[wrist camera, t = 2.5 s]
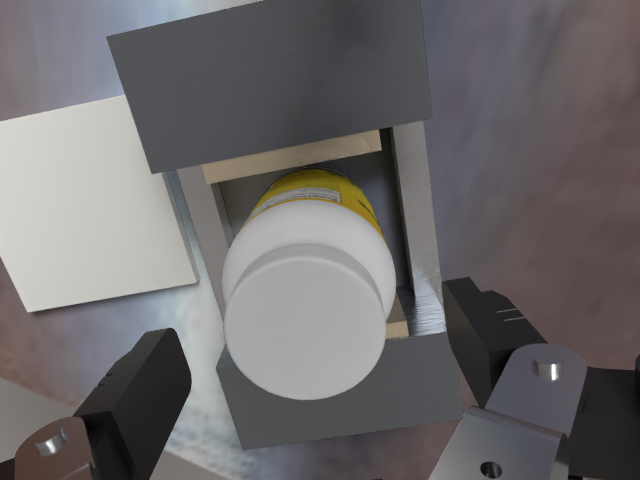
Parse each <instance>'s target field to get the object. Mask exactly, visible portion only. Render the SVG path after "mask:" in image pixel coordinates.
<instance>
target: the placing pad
mask: <svg viewBox="0 0 640 480" xmlns="http://www.w3.org/2000/svg"><path fill="white" fill-rule="evenodd" d="M0 256H1V258H2V261H3V263H4V265H5V267H6V269H7V271H8V273H9V275H10V277H11V279H12V281H13V283H14V285H15V287H16V290H17V292H18V294H19V296H20V298H21V300H22V302H23V304H24V306H25V308H26V310H27V312H33V311H39V310H45V309H50V308H56V307H62V306H67V305H73V304H79V303H84V302H90V301H96V300H102V299H107V298H113V297H119V296H124V295H130V294H136V293H141V292H147V291H153V290H158V289H164V288H170V287H176V286H181V285H187V284H193V283H197V282H198V280H199V279H200V277H199V274H198V271H197V267H196V264H195V261H194V258H193V255H192V252H191V249H190V246H189V242H188V239H187V236H186V233H185V230H184V227H183V224H182V220H181V217H180V214H179V211H178V208H177V205H176V202H175V199H174V195H173V192H172V189H171V186H170V183H169V180H168V177H167V173H166V172H162V173H157V174H151V171H150V168H149V165H148V162H147V159H146V156H145V153H144V150H143V147H142V144H141V141H140V138H139V135H138V132H137V128H136V125H135V122H134V119H133V116H132V113H131V110H130V107H129V104H128V101H127V98H126V95H121V96H116V97H112V98H107V99H102V100H98V101H93V102H88V103H84V104H79V105H75V106H70V107H65V108H61V109H56V110H51V111H47V112H42V113H38V114H33V115H28V116H24V117H19V118H15V119H10V120H5V121H1V122H0Z"/></svg>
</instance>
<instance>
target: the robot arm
mask: <svg viewBox="0 0 640 480" xmlns="http://www.w3.org/2000/svg"><path fill="white" fill-rule="evenodd" d="M442 296H443V304H444V313H445V321H446V329H447V335H448V340H449V343H450V347H451V349H452V352H453V354H454V356H455V358H456V360H457V362H458V364H459V366H460V368H461V370H462V372H463V374H464V376H465V378H466V380H467V382H468V384H469V386H470V388H471V391H472V393H473V395H474V397H475V399H476V401H477V403H478V405H479V407H477V406H474V405H472V406H470V407H469V408H468V409H467V411H466V413H465V414H464V416H463V418H462V420H461V422H460V423H459V425H458V427H457V429H456V431H455V432H454V434H453V436H452V438H451V440H450V442H449V443H448V445H447V447H446V449H445V451H444V452H443V454H442V456H441V458H440V460H439V462H438V463H437V465H436V467H435V469H434V471H433V473H432V474H431V476H430V478H429V480H586V479H587V478H593V479H600V480H640V355H639V356H638V357H637V359H636V364H635V370H619V369H602V368H593V367H588V366H587V365H586V363H585V361H584V360H583V358H582V357H581V356H579V355H578V354H577V353H575V352H573V351H572V350H569V349H567V348H565V347H562V346H558V345H553V344H548V343H547V342H546V340H545V339H544V338H543V337H542V336H541V335H540V334H539V333H538V331H537V330H536V329H535V328H534V327H533V326H532V325H531V324H530V323H529V321H528V320H527V319H526V318H524V316H523V315H522V314H521V313H520V311H519V310H517V309H516V307H515V306H514V305H513V304H512V302H511V301H510V300H509V299H508V298H507V297H505V296H503V295H501V294H498V293H496V292H494V291H492V290H491V291H485V292H481V291H480V290H479V289H478V288H477V286H476V285H475V284H474V282H473V281H472V280H471V279H470V278H469V277H465V278H459V279H453V280H448V281H443V282H442ZM191 383H192V380H191V372H190V369H189V366H188V363H187V360H186V358H185V355H184V352H183V349H182V346H181V344H180V341H179V338H178V335H177V333H176V331H175V330H174V329H173V328H166V329H160V330H154V331H149V332H146V333H144V334H143V336H142V337H141V338H140V340H139V341H138V342H137V343H136V345H135V346H134V347H133V349H132V350H131V351H130V352H128V353H127V354H126V355H124V356H123V357H122V358H121V359H119V360H118V361H117V362H115V364H114V365H113V366H112V367H111V369H110V370H109V371H108V372H107V374H106V377H103V379H102V380H101V381H100V382H99V384H98V387H95V389H94V390H93V391H92V392H91V394H90V395H89V396H88V397H87V399H86V400H85V401H84V402H83V404H82V405H81V406H80V407H79V409H78V410H77V411H76V412H75V414H74V415H73V416H72V417H67V418H63V419H59V420H57V421H54V422H52V423H50V424H48V425H46V426H44V427H43V428H41V429H39V430H38V431H36V432H35V433H34V434H32V435H31V436H30V437H29V438H28V439H26V440H25V441H24V443H23V444H22V445H21V446H20V447H19V449H18V450H17V452H16V454H15V458H13V459H10V460H7V461H4V462H2V463H0V480H149V479H150V476H151V474H152V472H153V470H154V468H155V466H156V464H157V461H158V459H159V457H160V455H161V453H162V451H163V449H164V447H165V444H166V442H167V440H168V438H169V436H170V434H171V432H172V429H173V427H174V425H175V423H176V421H177V419H178V417H179V414H180V412H181V410H182V408H183V406H184V404H185V402H186V400H187V397H188V395H189V393H190V390H191ZM375 480H382V479H375Z"/></svg>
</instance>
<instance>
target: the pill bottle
mask: <svg viewBox="0 0 640 480" xmlns="http://www.w3.org/2000/svg"><path fill="white" fill-rule="evenodd" d="M222 291H223V297H224V302H225V305H226V310H225V315H224V324H223V327H224V336H225V342H226V345H227V348H228V351H229V353H230V355H231V357H232V359H233V361H234V362H235V364H236V365H237V367H238V368H239V369H240V371H241V372H242V373H243V374H244V375H245V376H246V377H247V378H248V379H250V380H251V381H252V382H253V383H255V384H256V385H257V386H259V387H261V388H263V389H264V390H266V391H268V392H270V393H273V394H276V395H279V396H282V397H285V398H290V399H297V400H316V399H323V398H328V397H331V396H335V395H337V394H340V393H342V392H345V391H347V390H348V389H350V388H352V387H354V386H355V385H356V384H358V383H359V382H360V381H362V380H363V379H364V378H365V377H366V376H367V375H368V374H369V373H370V372H371V370H372V369H373V368H374V366H375V365H376V363H377V361H378V359H379V358H380V356H381V353H382V351H383V347H384V344H385V338H386V320H387V319H388V316H389V314H390V312H391V309H392V306H393V302H394V298H395V292H396V274H395V268H394V263H393V259H392V256H391V253H390V251H389V248H388V246H387V244H386V241H385V239H384V236H383V234H382V231H381V229H380V226H379V223H378V221H377V218H376V216H375V214H374V211H373V209H372V206H371V204H370V202H369V200H368V198H367V196H366V195H365V193H364V192H363V191H362V189H361V188H360V187H359V186H358V185H357V184H356V183H355V182H354V181H353V180H352V179H350V178H349V177H347V176H346V175H344V174H342V173H340V172H338V171H335V170H332V169H328V168H323V167H305V168H300V169H296V170H293V171H291V172H289V173H287V174H285V175H283V176H281V177H280V178H279V179H277V180H276V181H275V182H274V183H273V184H272V185H271V186H270V187H269V188H268V189H267V190H266V192H265V193H264V194H263V196H262V197H261V199H260V200H259V202H258V203H257V205H256V206H255V208H254V209H253V210H252V212H251V213H250V215H249V217H248V218H247V220H246V222H245V223H244V225H243V226H242V228H241V229H240V231H239V232H238V234H237V235H236V237H235V239H234V240H233V242H232V244H231V246H230V248H229V251H228V253H227V256H226V259H225V262H224V267H223V274H222Z"/></svg>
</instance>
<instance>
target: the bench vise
mask: <svg viewBox="0 0 640 480" xmlns="http://www.w3.org/2000/svg"><path fill="white" fill-rule="evenodd" d="M106 38H107V41H108V44H109V47H110V50H111V53H112V56H113V59H114V62H115V65H116V68H117V71H118V74H119V77H120V80H121V83H122V86H123V89H124V92H125V95H126V98H127V101H128V104H129V107H130V110H131V113H132V116H133V119H134V122H135V125H136V128H137V132H138V135H139V138H140V141H141V144H142V147H143V150H144V153H145V156H146V159H147V162H148V165H149V168H150V171H151V174H157V173H162V172H167V171H172V170H176V171H177V174H178V177H179V180H180V183H181V187H182V190H183V193H184V196H185V200H186V203H187V206H188V209H189V212H190V216H191V219H192V222H193V225H194V229H195V232H196V235H197V238H198V241H199V245H200V248H201V251H202V254H203V258H204V261H205V264H206V267H207V270H208V274H209V277H210V280H211V283H212V287H213V290H214V293H215V296H216V299H217V303H218V306H219V309H220V312H221V316H222V319H223V322H224V315H225V310H226V305H225V302H224V297H223V291H222V274H223V267H224V262H225V259H226V256H227V253H228V251H229V248H230V246H231V244H232V242H233V240H234V236H233V233H232V229H231V226H230V222H229V219H228V215H227V211H226V208H225V204H224V201H223V197H222V194H221V190H220V186H219V183H218V182H221V181H226V180H231V179H236V178H241V177H246V176H252V175H257V174H262V173H267V172H272V171H277V170H282V169H287V168H293V167H298V166H303V165H308V164H313V163H318V162H323V161H329V160H334V159H339V158H344V157H349V156H354V155H359V154H364V153H370V152H375V151H380V150H382V149H381V142H380V135H379V129H383V128H388V127H389V132H390V139H391V146H392V154H393V161H394V168H395V175H396V183H397V190H398V197H399V204H400V212H401V219H402V226H403V233H404V241H405V248H406V255H407V263H408V270H409V277H410V284H411V285H408V286H403V287H397V288H396V292H395V298H394V302H393V306H392V309H391V312H390V314H389V316H388V319H387V320H386V338H385V344H384V347H383V351H382V353H381V356H380V358H379V359H378V361H377V363H376V365H375V366H374V368H373V369H372V370H371V372H370V373H369V374H368V375H367V376H366V377H365V378H364V379H363V380H362V381H360V382H359V383H358V384H356V385H355V386H354V387H352V388H350V389H348V390H347V391H345V392H342V393H340V394H337V395H335V396H331V397H328V398H323V399H316V400H297V399H290V398H285V397H282V396H279V395H276V394H273V393H270V392H268V391H266V390H264V389H263V388H261V387H259V386H257V385H256V384H255V383H253V382H252V381H251V380H250V379H248V378H247V377H246V376H245V375H244V374H243V373H242V372H241V371H240V369H239V368H238V367H237V365H236V364H235V362H234V361H233V359H232V357H231V355H230V353H229V351H228V348H227V345H226V344H225V347H224V349H223V352H222V354H221V356H220V359H219V361H218V364H217V366H216V370H217V373H218V376H219V379H220V382H221V385H222V388H223V391H224V394H225V397H226V400H227V403H228V406H229V409H230V412H231V415H232V419H233V422H234V425H235V428H236V431H237V434H238V437H239V440H240V443H241V446H242V449H243V450H248V449H255V448H262V447H270V446H277V445H284V444H291V443H298V442H305V441H312V440H319V439H326V438H334V437H341V436H348V435H355V434H362V433H369V432H376V431H383V430H390V429H398V428H405V427H412V426H419V425H426V424H433V423H440V422H447V421H454V420H462V418H463V410H462V400H461V390H460V381H459V371H458V362H457V360H456V358H455V356H454V354H453V352H452V349H451V347H450V343H449V340H448V335H447V329H446V321H445V313H444V304H443V296H442V285H441V276H440V267H439V258H438V249H437V240H436V231H435V222H434V213H433V204H432V195H431V186H430V177H429V168H428V159H427V150H426V141H425V132H424V122H423V120H428V119H432V111H431V101H430V92H429V82H428V72H427V63H426V53H425V43H424V34H423V24H422V15H421V5H420V0H264V1H259V2H255V3H251V4H246V5H242V6H238V7H233V8H229V9H224V10H220V11H216V12H211V13H207V14H203V15H198V16H194V17H190V18H185V19H181V20H176V21H172V22H168V23H163V24H159V25H155V26H150V27H146V28H142V29H137V30H133V31H129V32H124V33H120V34H115V35H111V36H107V37H106Z"/></svg>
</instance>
